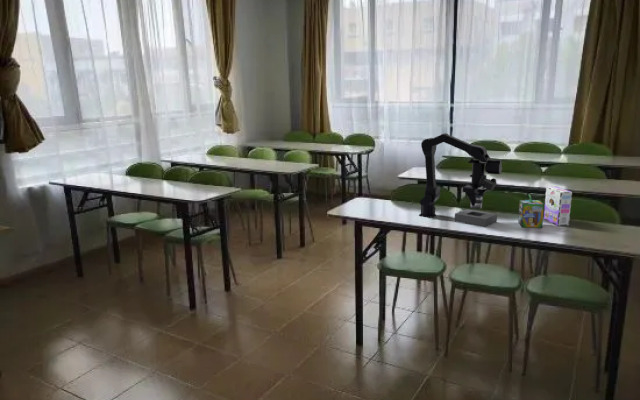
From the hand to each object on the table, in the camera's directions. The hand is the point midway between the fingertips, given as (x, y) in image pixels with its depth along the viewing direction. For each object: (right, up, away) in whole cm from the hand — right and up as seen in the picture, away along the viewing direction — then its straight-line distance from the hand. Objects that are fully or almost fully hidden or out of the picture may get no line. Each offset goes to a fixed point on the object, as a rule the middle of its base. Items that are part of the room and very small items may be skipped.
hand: (476, 204), depth 239 cm
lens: (0, -1, 0) cm, 2 cm away
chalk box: (+24, -10, -5) cm, 26 cm away
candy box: (+38, -9, -1) cm, 39 cm away
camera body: (0, -8, +2) cm, 9 cm away
